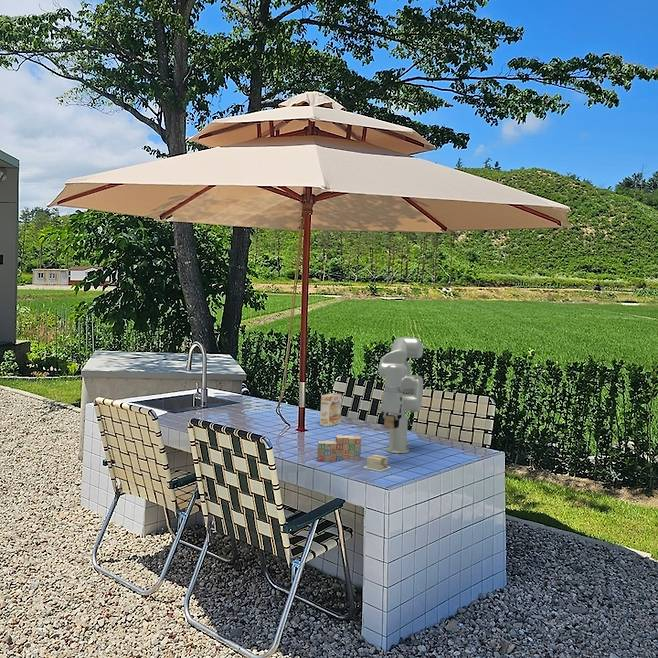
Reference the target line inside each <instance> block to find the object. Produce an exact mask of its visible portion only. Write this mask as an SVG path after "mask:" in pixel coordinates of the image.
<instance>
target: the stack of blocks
mask: <svg viewBox="0 0 658 658" xmlns="http://www.w3.org/2000/svg"><path fill="white" fill-rule="evenodd" d="M317 441H318V442H317V461H318V462H328V461H339V462H342V461H345V460H346V461H347V460H350V461H354V460H355V461H360V460H361V450H362V438H361V436H360V435H341V434H340V435H337V434H336V435H335V440H334V441H333V440H317Z"/></svg>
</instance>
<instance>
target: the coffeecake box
mask: <svg viewBox="0 0 658 658" xmlns="http://www.w3.org/2000/svg"><path fill="white" fill-rule="evenodd" d="M342 398H343V397H342V393H338V392H337V393H336V392H332V393H326V394H321V397H320V414H319V415H320V418H319V426H320V425H325V426H331V425H334V426H336V425H335V424H338V425H340V424H339V423H342V421H341V418H342V400H343V399H342ZM325 426H324V427H325ZM331 427H332V426H331Z"/></svg>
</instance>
